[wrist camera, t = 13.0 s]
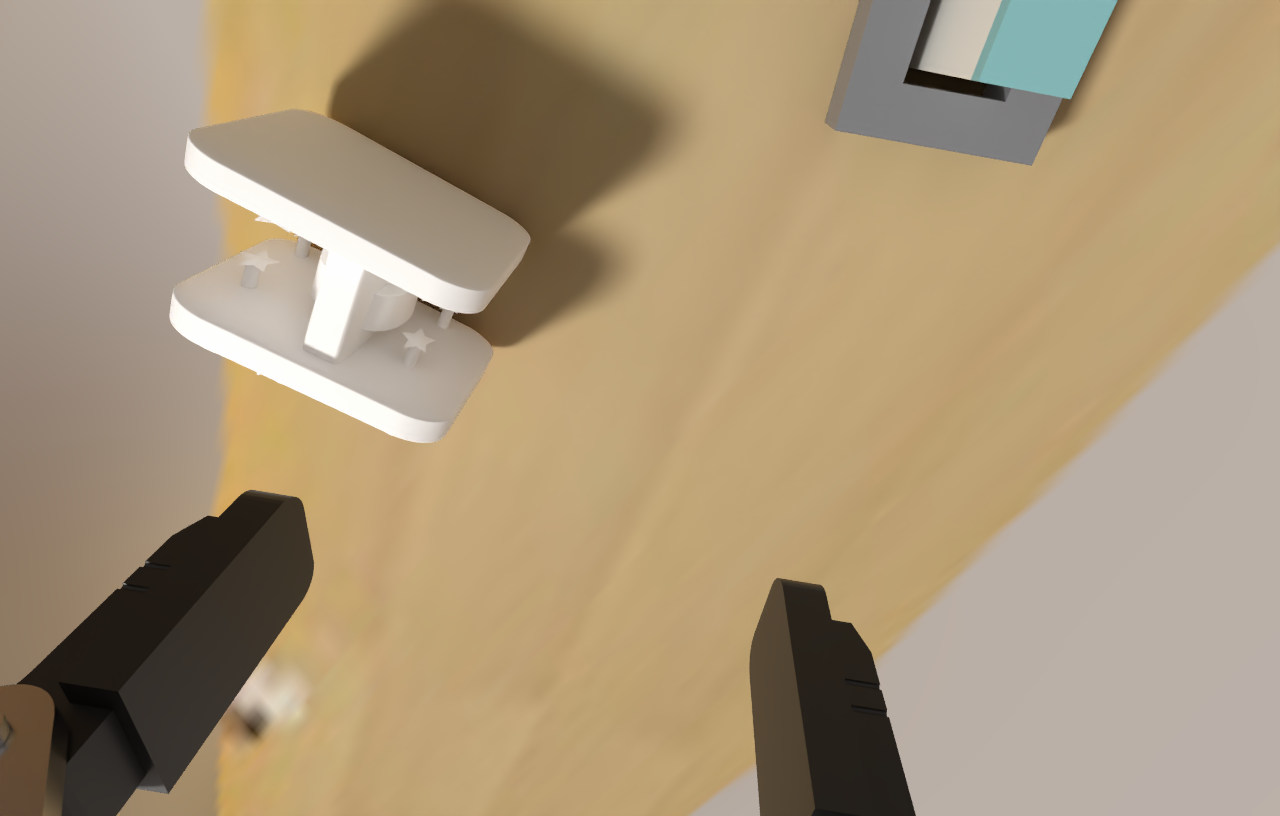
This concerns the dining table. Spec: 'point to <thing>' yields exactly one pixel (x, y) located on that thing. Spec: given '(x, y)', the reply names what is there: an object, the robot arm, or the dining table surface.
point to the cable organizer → (348, 272)
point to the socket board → (927, 94)
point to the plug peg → (1012, 41)
